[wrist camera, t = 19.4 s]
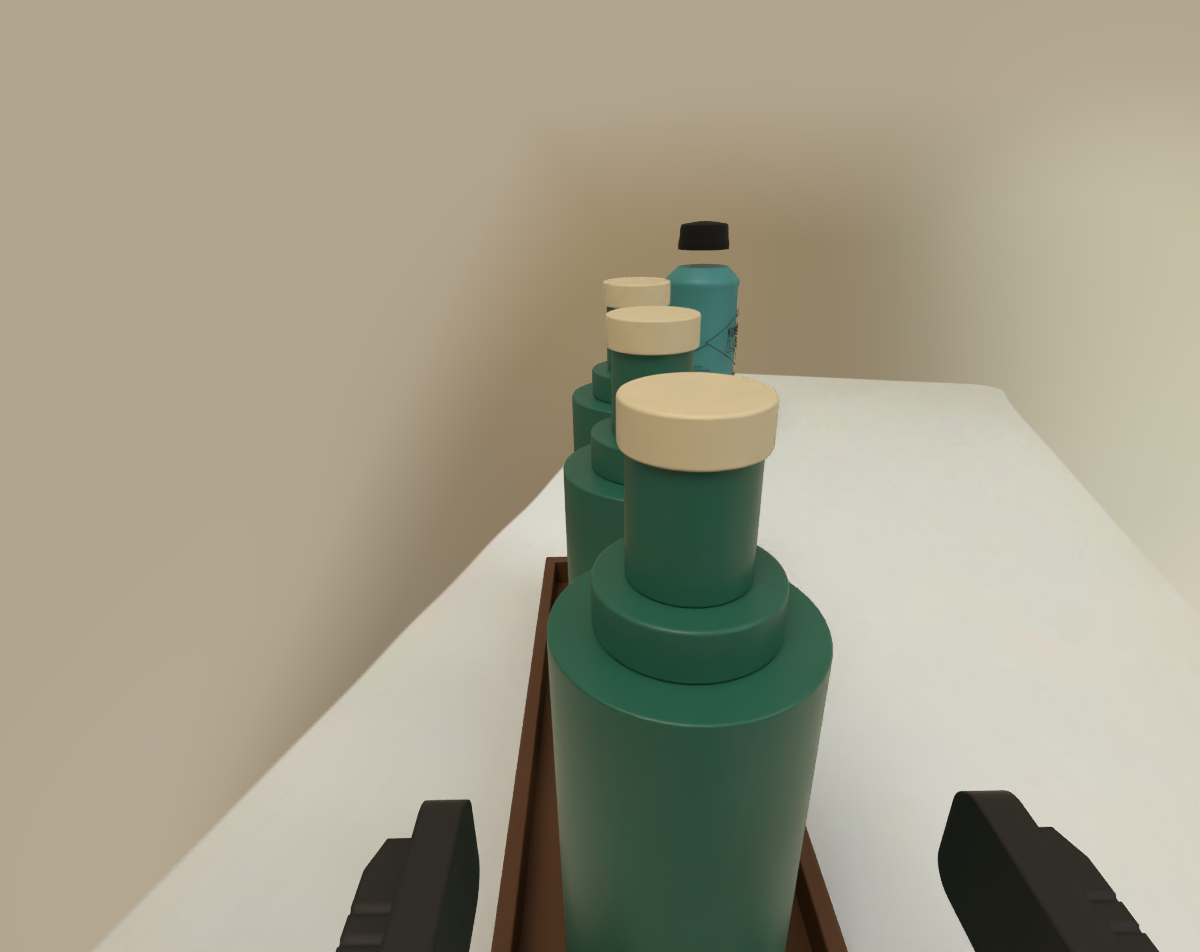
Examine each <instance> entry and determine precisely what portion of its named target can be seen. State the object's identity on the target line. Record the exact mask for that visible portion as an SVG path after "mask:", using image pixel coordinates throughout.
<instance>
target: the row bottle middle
mask: <svg viewBox="0 0 1200 952" xmlns="http://www.w3.org/2000/svg"><path fill="white" fill-rule="evenodd" d="M700 324H701V314H700V312H698V311H696V310H693V309H689V308H683V307H673V306H636V307H626V308H619V309H615V310H612V311H609V312H608V313H607V314H606V345H607V347H608V348H609V349H611V393H612V417H610V418H607V419H604V420H602V421H600V422H598V423H597V424H596V425H595V426H594V427H593V428H592V430H591V444H589V445H587V446H584V447H582V448H580V449H578V450H577V451H575V452H574V453H572V454H571V455H570V456H569V457H568V459H567V460H566V462H565V465H564V489H565V512H566V535H567V557H568V580H569V584H570V583H572V582H573V581H574V580H575V579H577V578H578V577H579V576H581V575H582V574H584V573H586V572H587V571H589V570H591V569H592V567H593V565H594V562H595V561H596V559H597V558H598V556H599V555H600V554H601V553H602V552H603V550H605V549H606V548H607V547H608V546H610V545H611V544H613V543H614V542H616V541H618V540H620V539H622V538H624V453H623V452H622V451H621V450H620V449H619V447H618V445H617V442H616V393H617V391H618V389H619V388H620V387H621V386H622V385H624V384H625V383H627V382H630V381H632V380H635V379H638V378H642V377H646V376H651V375H657V374H665V373H677V372H694V350H695V349H696V348H698V347H699V344H700Z"/></svg>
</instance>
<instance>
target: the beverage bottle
mask: <svg viewBox="0 0 1200 952" xmlns="http://www.w3.org/2000/svg"><path fill="white" fill-rule="evenodd" d="M678 249H680V250H723V249H729V238H728V224H727V223H720V222H712V221H699V222H693V223H687V224H682V225H681V229H680V238H679V244H678ZM666 279H667V280H670V282H671V287H670V304H669V305H668V306H673V307H683V308H689V309H693V310H696V311H698V312H700V314H701V324H700V344H699V347H698V348H696V349H695V350H694V372H705V373H719V374H727V375H733V374H734V373H733V363H734V352H735V351H734V350H735V349H734V347H736V345H735V342H736V340H735V339H736V338H735V337H736V336H735V334H736V332H737V326H736V317H737V316H738V315H737V295H738V286H739V278H738V277H737V276H736V274H735V273H734V272H733V271H732V270H731V269H730V268H729V267H728V266H726V265H719V264H691V265H681V266H678V267H677V268H676V269H674V270H673V271H672V272H671V274H670V275H669V276H668V277H667V278H666ZM736 335H737V334H736Z"/></svg>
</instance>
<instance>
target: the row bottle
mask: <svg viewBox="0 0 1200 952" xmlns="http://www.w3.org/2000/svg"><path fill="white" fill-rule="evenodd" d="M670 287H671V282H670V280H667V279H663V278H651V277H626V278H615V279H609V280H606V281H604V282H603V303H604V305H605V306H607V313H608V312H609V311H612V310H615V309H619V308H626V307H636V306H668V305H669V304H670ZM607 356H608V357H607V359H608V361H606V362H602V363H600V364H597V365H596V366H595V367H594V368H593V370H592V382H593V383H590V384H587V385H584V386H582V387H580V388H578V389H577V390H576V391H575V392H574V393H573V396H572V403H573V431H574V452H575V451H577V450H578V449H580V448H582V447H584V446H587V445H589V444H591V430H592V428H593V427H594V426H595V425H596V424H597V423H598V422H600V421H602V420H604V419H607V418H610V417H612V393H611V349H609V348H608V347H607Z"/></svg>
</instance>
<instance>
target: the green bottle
mask: <svg viewBox="0 0 1200 952" xmlns="http://www.w3.org/2000/svg"><path fill="white" fill-rule="evenodd" d="M778 407H779V397H778V394H777V393H776V391H775V390H774V389H773V388H771V387H769V386H768V385H765V384H763V383H761V382H758V381H755V380H752V379H748V378H744V377H739V376H734V375H727V374H719V373H705V372H677V373H665V374H657V375H651V376H646V377H642V378H638V379H635V380H632V381H630V382H627V383H625V384H624V385H622V386H621V387H620V388H619V389H618V391H617V393H616V442H617V445H618V447H619V449H620V450H621V451H622V452H623V453H624V538H622V539H620V540H618V541H616V542H614V543H613V544H611V545H610V546H608V547H607V548H606V549H605V550H603V552H602V553H601V554H600V555H599V556H598V558H597V559H596V561H595V562H594V565H593V567H592V569H591V570H589V571H587V572H586V573H584V574H582V575H581V576H579V577H578V578H577V579H575V580H574V581H573V582H572V583H570V584H569V585H568V586H567V587H566V588H565V589H564V590H563V591H562V592H561V594H560V595H559V597H558V598H557V600H556V601H555V603H554V605H553V607H552V609H551V612H550V614H549V618H548V622H547V649H548V665H549V681H550V697H551V713H552V729H553V744H554V760H555V776H556V792H557V808H558V824H559V840H560V856H561V871H562V887H563V903H564V919H565V935H566V951H567V952H785V948H786V942H787V936H788V930H789V923H790V917H791V911H792V905H793V899H794V892H795V886H796V880H797V874H798V868H799V862H800V855H801V849H802V843H803V837H804V831H805V824H806V818H807V812H808V806H809V800H810V793H811V787H812V781H813V775H814V769H815V762H816V756H817V750H818V744H819V738H820V732H821V725H822V719H823V713H824V707H825V701H826V694H827V688H828V682H829V676H830V670H831V663H832V657H833V643H832V638H831V634H830V630H829V628H828V626H827V623H826V621H825V619H824V617H823V616H822V614H821V613H820V611H819V610H818V608H817V607H816V606H815V605H814V603H813V602H812V601H811V600H810V599H809V598H808V597H807V596H806V595H805V594H804V593H802V592H801V591H800V590H799V589H798V588H796V587H795V586H794V585H792V584H791V583H789V581H788V579H787V576H786V573H785V571H784V569H783V568H782V566H781V565H780V563H779V562H778V561H777V560H776V559H775V558H774V557H773V556H772V555H771V554H769V553H768V552H767V551H765V550H764V549H762V548H761V547H759V546H757V537H758V526H759V515H760V504H761V494H762V483H763V472H764V462H765V459H766V458H767V457H768V456H769V455H770V454H771V452H772V451H773V449H774V446H775V437H776V427H777V417H778Z"/></svg>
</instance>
